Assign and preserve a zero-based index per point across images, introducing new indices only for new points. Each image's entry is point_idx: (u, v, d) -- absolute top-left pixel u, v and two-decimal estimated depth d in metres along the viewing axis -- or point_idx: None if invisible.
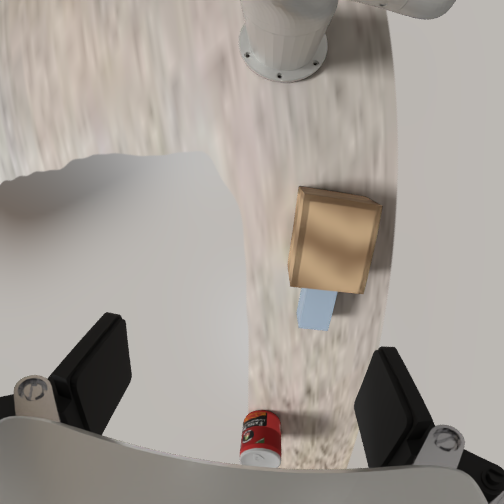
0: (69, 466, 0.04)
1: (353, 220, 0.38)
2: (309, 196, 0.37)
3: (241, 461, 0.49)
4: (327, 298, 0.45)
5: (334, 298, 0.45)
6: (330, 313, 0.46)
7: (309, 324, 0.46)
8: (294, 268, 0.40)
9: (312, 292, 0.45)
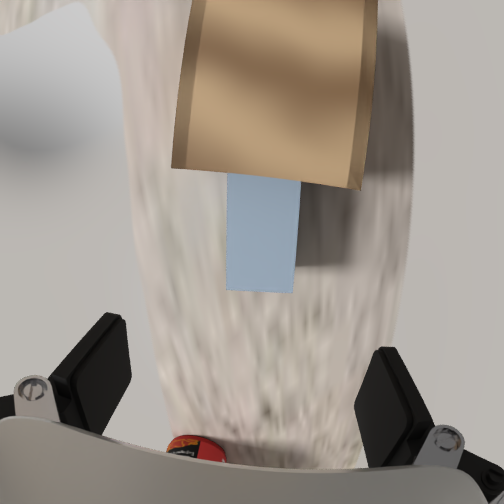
0: (69, 466, 0.04)
1: (315, 9, 0.13)
2: None
3: None
4: (279, 215, 0.20)
5: (295, 213, 0.20)
6: (292, 251, 0.21)
7: (247, 279, 0.21)
8: (177, 121, 0.15)
9: (242, 202, 0.20)
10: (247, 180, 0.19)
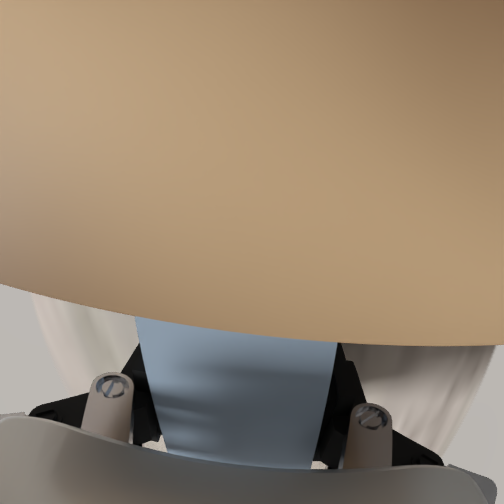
0: (69, 466, 0.04)
1: None
2: None
3: None
4: (281, 364, 0.07)
5: (325, 358, 0.07)
6: (311, 428, 0.08)
7: None
8: None
9: (176, 335, 0.07)
10: None
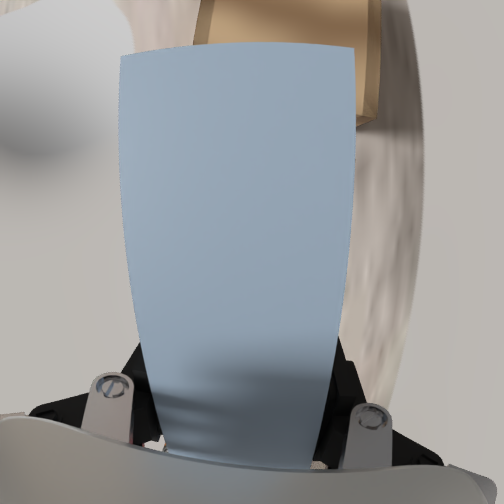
0: (69, 466, 0.04)
1: None
2: None
3: None
4: (281, 364, 0.07)
5: (325, 358, 0.07)
6: (310, 428, 0.08)
7: None
8: None
9: (176, 335, 0.07)
10: (182, 277, 0.06)
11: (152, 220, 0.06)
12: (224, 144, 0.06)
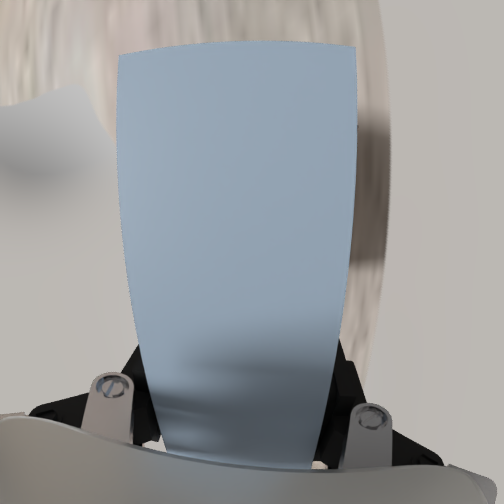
0: (69, 466, 0.04)
1: None
2: None
3: None
4: (281, 367, 0.07)
5: (325, 361, 0.07)
6: (311, 430, 0.08)
7: None
8: None
9: (175, 337, 0.07)
10: (180, 279, 0.06)
11: (150, 222, 0.06)
12: (223, 144, 0.05)
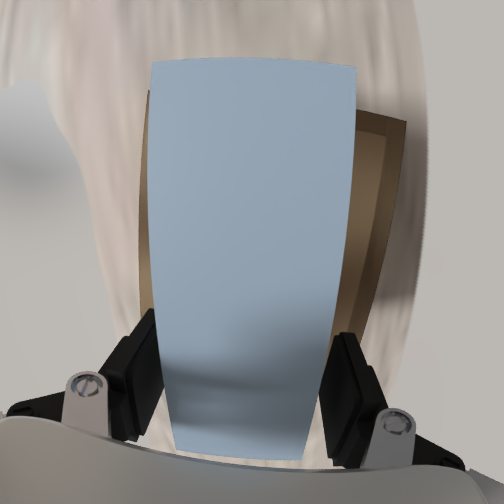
0: (69, 466, 0.04)
1: None
2: None
3: None
4: (282, 342, 0.08)
5: (321, 338, 0.08)
6: (306, 406, 0.09)
7: (214, 442, 0.09)
8: (143, 313, 0.14)
9: (190, 313, 0.08)
10: (198, 260, 0.07)
11: (174, 209, 0.07)
12: (241, 145, 0.07)
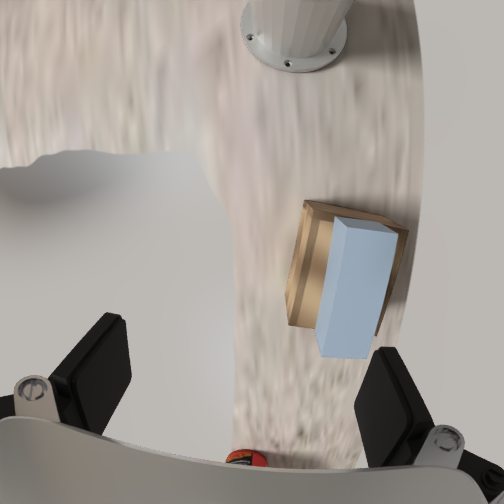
0: (69, 466, 0.04)
1: None
2: (319, 214, 0.29)
3: None
4: (369, 308, 0.26)
5: (379, 306, 0.26)
6: (372, 331, 0.27)
7: (338, 350, 0.27)
8: (294, 303, 0.32)
9: (345, 298, 0.26)
10: (351, 283, 0.25)
11: (347, 269, 0.25)
12: (367, 254, 0.25)
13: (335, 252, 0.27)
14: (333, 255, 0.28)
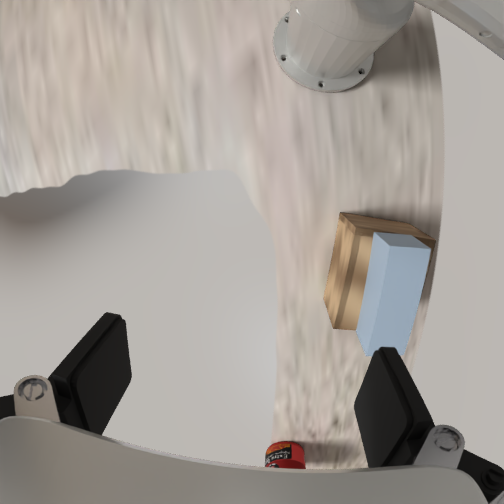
0: (69, 466, 0.04)
1: None
2: (360, 230, 0.32)
3: None
4: (406, 312, 0.29)
5: (415, 310, 0.29)
6: (408, 331, 0.30)
7: None
8: (339, 309, 0.35)
9: (387, 306, 0.29)
10: (392, 292, 0.28)
11: (389, 281, 0.28)
12: (406, 267, 0.27)
13: (376, 265, 0.30)
14: (374, 267, 0.31)
